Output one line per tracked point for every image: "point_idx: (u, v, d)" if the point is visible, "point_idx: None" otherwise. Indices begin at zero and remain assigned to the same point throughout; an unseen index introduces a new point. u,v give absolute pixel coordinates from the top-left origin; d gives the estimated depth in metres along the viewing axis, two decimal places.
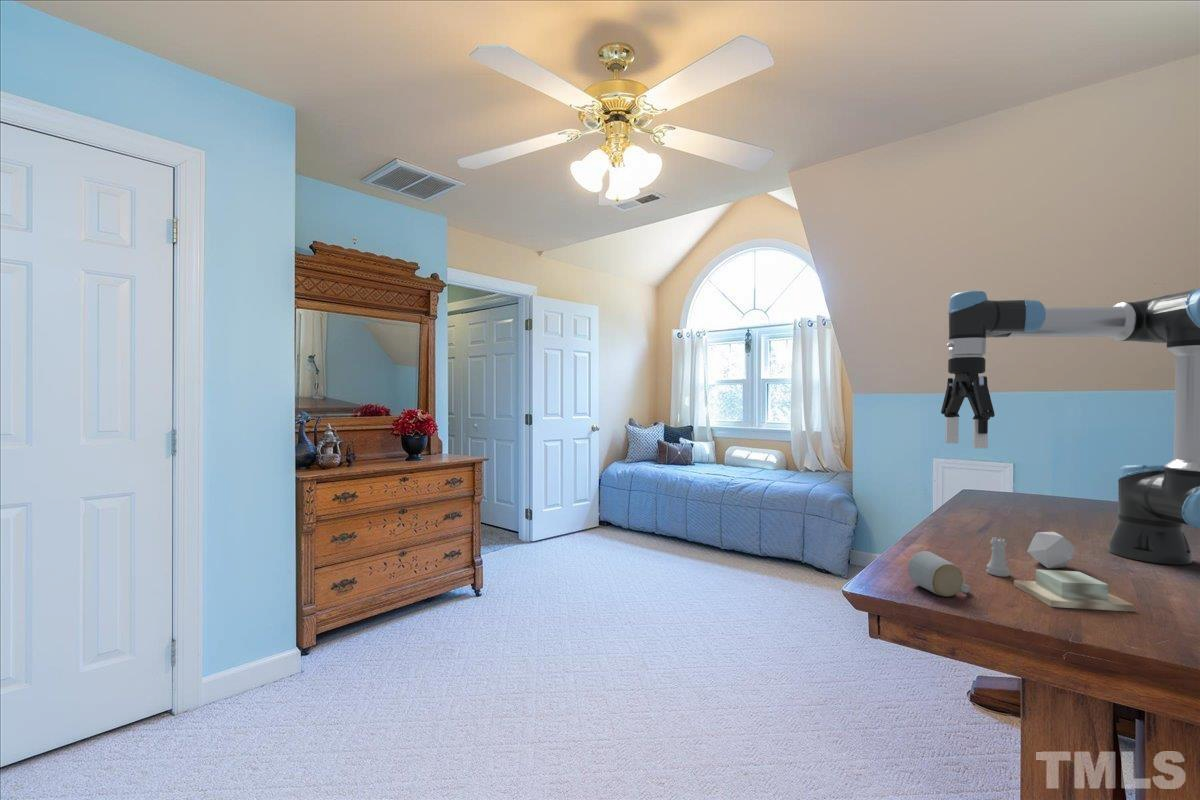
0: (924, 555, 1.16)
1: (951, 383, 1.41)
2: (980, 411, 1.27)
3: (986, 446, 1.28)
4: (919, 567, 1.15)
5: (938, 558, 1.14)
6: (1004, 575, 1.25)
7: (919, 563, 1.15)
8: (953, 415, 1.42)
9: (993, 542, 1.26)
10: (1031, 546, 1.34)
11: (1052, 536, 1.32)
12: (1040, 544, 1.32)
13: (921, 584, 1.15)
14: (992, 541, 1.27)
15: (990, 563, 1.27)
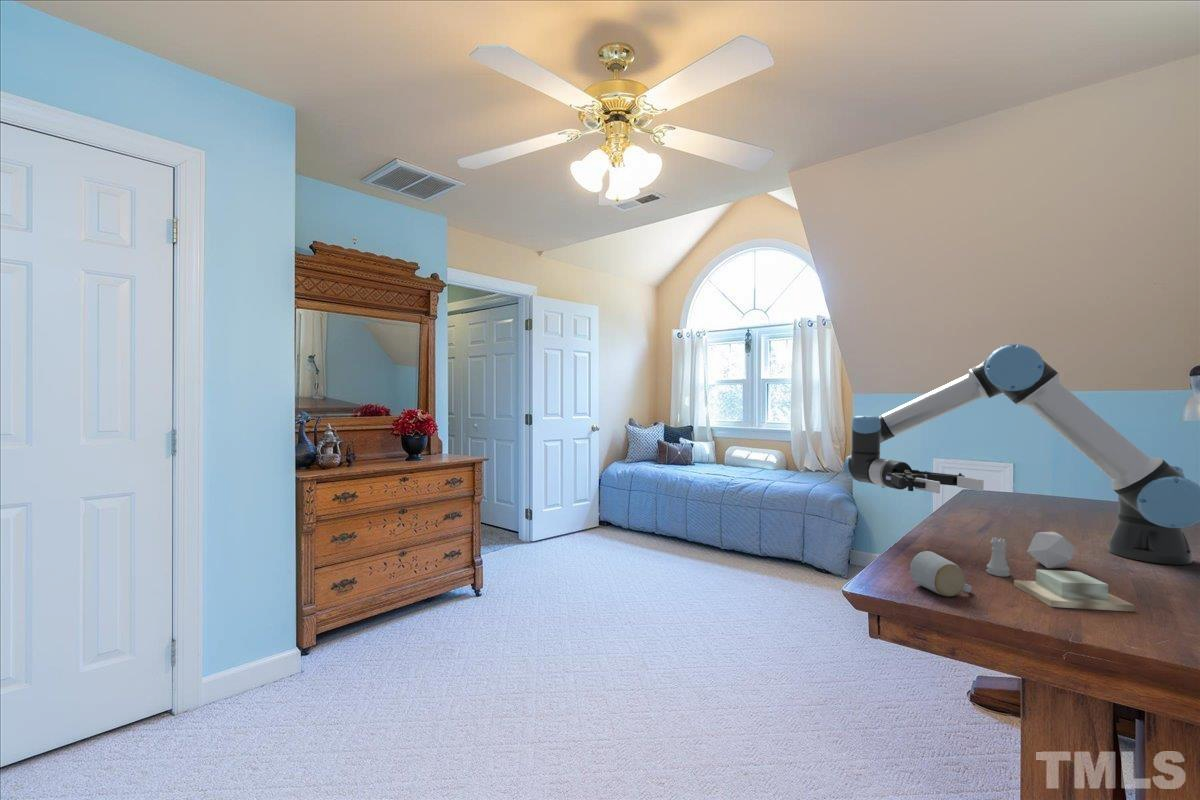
0: (926, 555, 1.16)
1: None
2: None
3: (936, 482, 1.34)
4: (921, 567, 1.15)
5: (940, 558, 1.14)
6: (1004, 575, 1.25)
7: (921, 563, 1.16)
8: None
9: (993, 542, 1.26)
10: (1031, 546, 1.34)
11: (1052, 536, 1.32)
12: (1040, 544, 1.32)
13: (923, 584, 1.15)
14: (992, 541, 1.27)
15: (990, 563, 1.27)
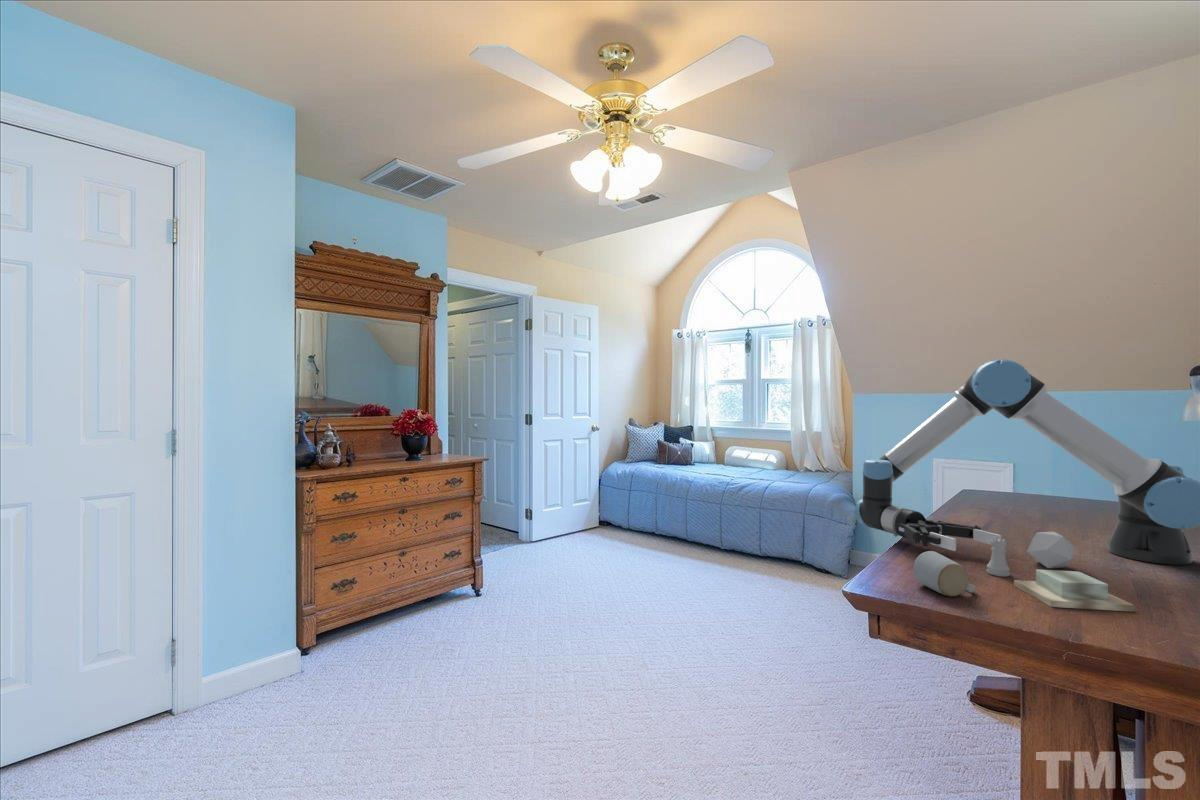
0: (929, 555, 1.16)
1: (940, 530, 1.47)
2: None
3: (951, 539, 1.29)
4: (924, 567, 1.15)
5: (943, 558, 1.14)
6: (1004, 575, 1.25)
7: (924, 563, 1.16)
8: None
9: (993, 542, 1.26)
10: (1031, 546, 1.34)
11: (1052, 536, 1.32)
12: (1040, 544, 1.32)
13: (926, 584, 1.15)
14: (992, 541, 1.27)
15: (990, 563, 1.27)
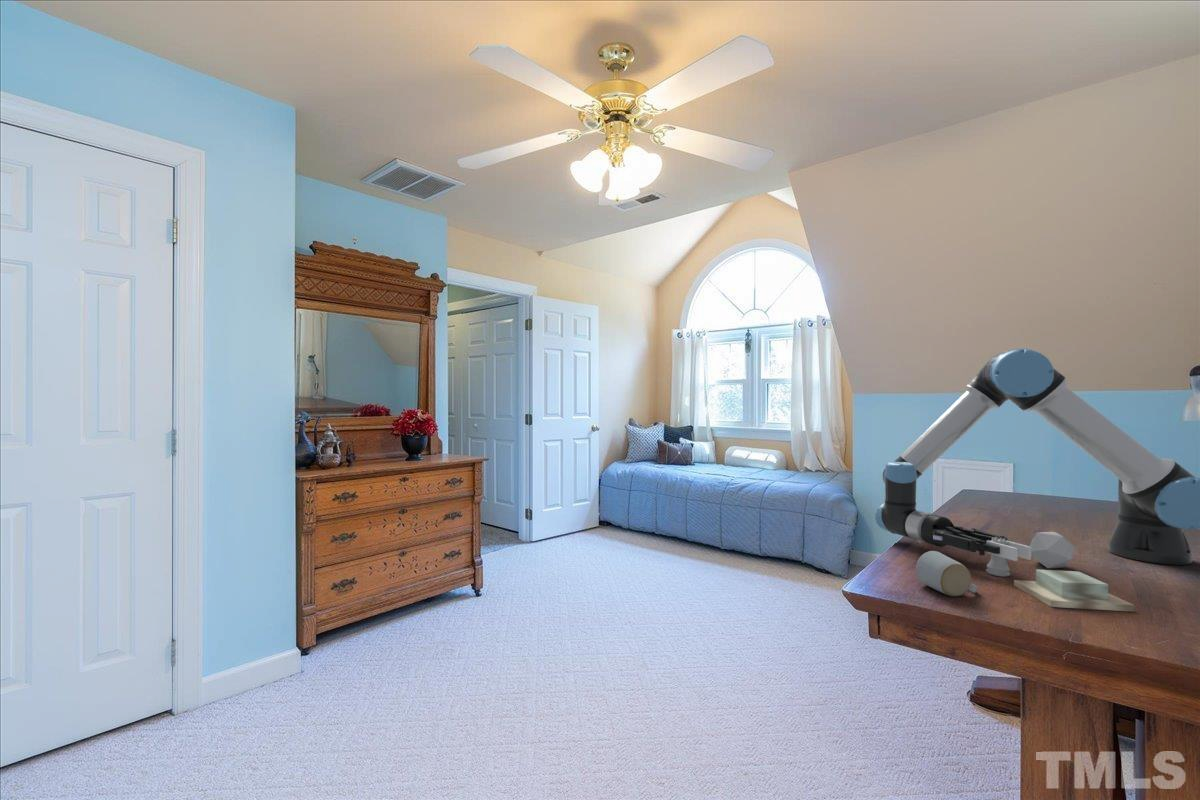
0: (932, 555, 1.16)
1: None
2: None
3: (1012, 549, 1.21)
4: (927, 566, 1.15)
5: (946, 558, 1.14)
6: (1004, 575, 1.25)
7: (927, 563, 1.16)
8: None
9: None
10: (1031, 546, 1.34)
11: (1052, 536, 1.32)
12: (1040, 544, 1.32)
13: (929, 584, 1.15)
14: (992, 541, 1.27)
15: (990, 563, 1.27)
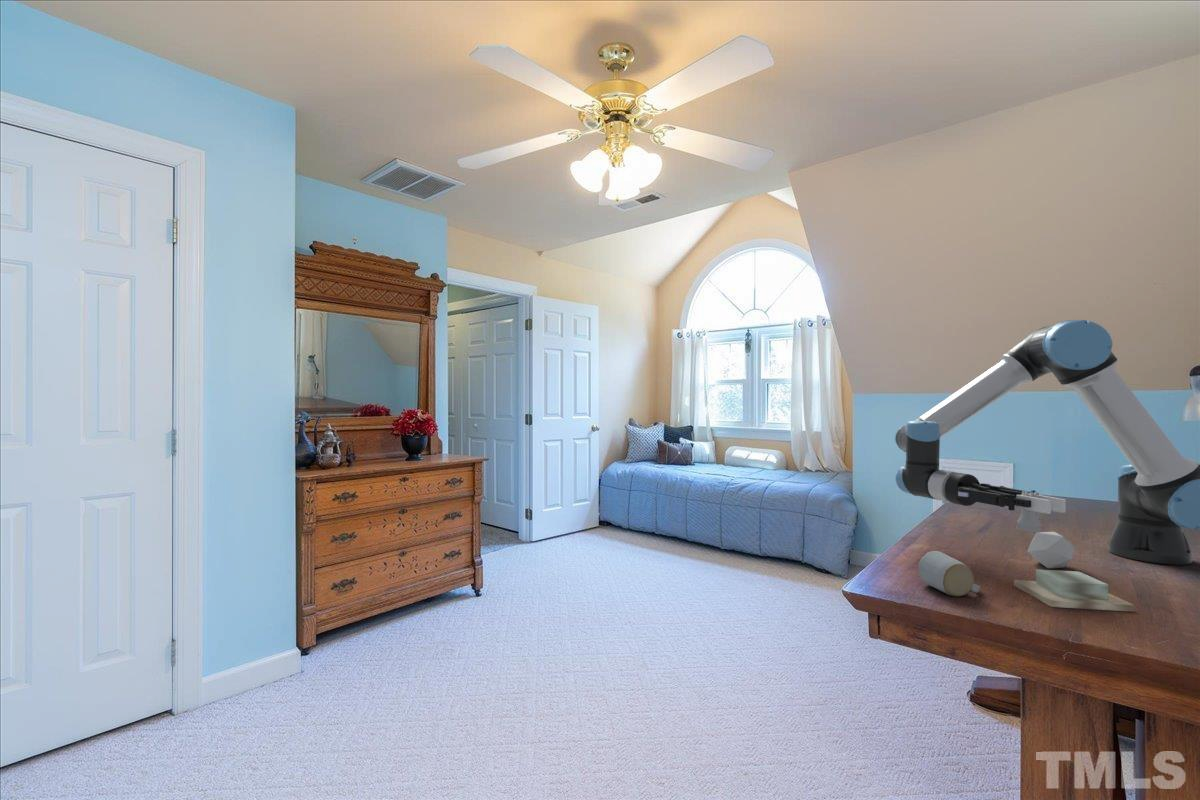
0: (935, 555, 1.16)
1: None
2: None
3: (1045, 501, 1.13)
4: (929, 566, 1.15)
5: (948, 558, 1.14)
6: (1036, 530, 1.17)
7: (929, 563, 1.16)
8: None
9: None
10: (1031, 546, 1.34)
11: (1052, 536, 1.32)
12: (1040, 544, 1.32)
13: (931, 584, 1.15)
14: None
15: (1020, 518, 1.19)
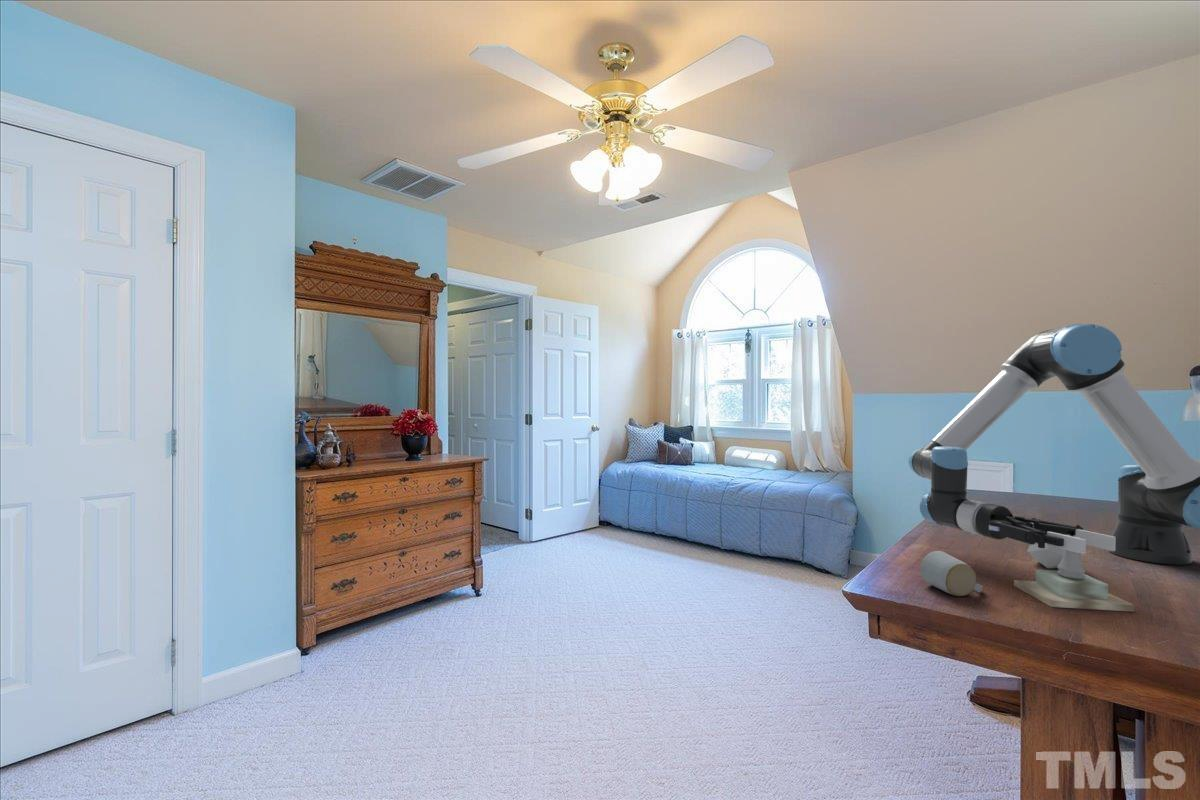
0: (937, 555, 1.16)
1: None
2: None
3: (1080, 540, 1.06)
4: (932, 566, 1.15)
5: (951, 558, 1.14)
6: (1079, 578, 1.10)
7: (932, 563, 1.16)
8: (1074, 532, 1.15)
9: None
10: (1031, 546, 1.34)
11: None
12: None
13: (934, 584, 1.15)
14: None
15: (1062, 564, 1.12)
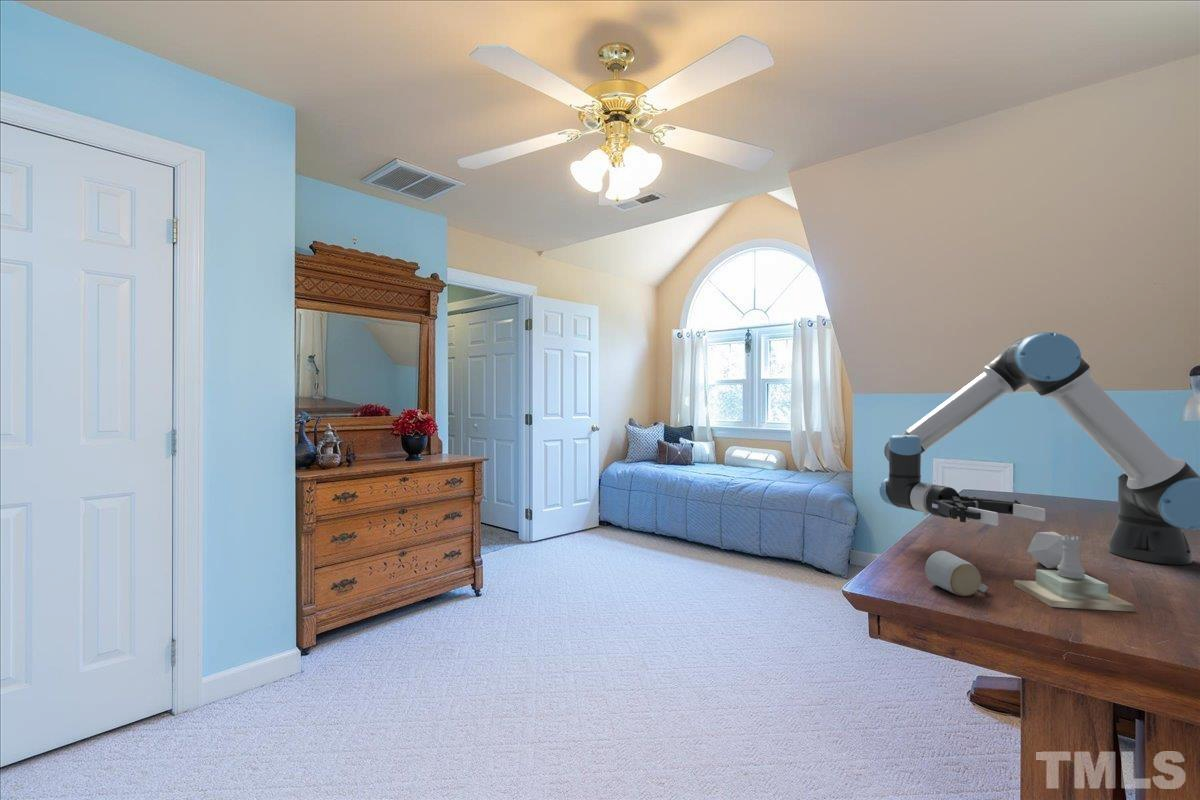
0: (941, 555, 1.17)
1: None
2: None
3: (993, 513, 1.20)
4: (936, 566, 1.15)
5: (956, 558, 1.15)
6: (1079, 578, 1.10)
7: (936, 563, 1.16)
8: None
9: (1065, 540, 1.12)
10: (1031, 546, 1.34)
11: (1052, 536, 1.32)
12: (1040, 544, 1.32)
13: (939, 584, 1.15)
14: (1064, 539, 1.12)
15: (1062, 564, 1.12)
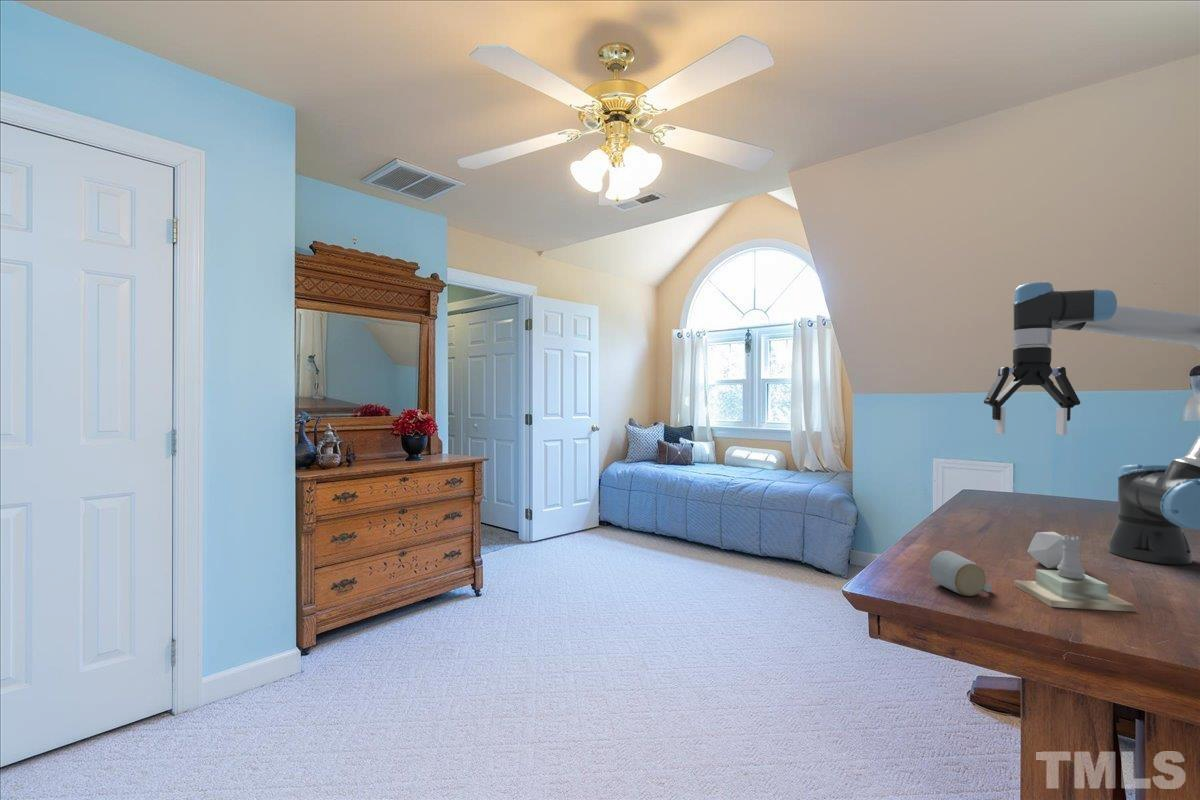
0: (946, 555, 1.17)
1: None
2: None
3: (1001, 431, 1.38)
4: (941, 566, 1.16)
5: (960, 558, 1.15)
6: (1079, 578, 1.10)
7: (941, 563, 1.16)
8: (1064, 405, 1.37)
9: (1065, 540, 1.12)
10: (1031, 546, 1.34)
11: (1052, 536, 1.32)
12: (1040, 544, 1.32)
13: (943, 584, 1.16)
14: (1064, 539, 1.12)
15: (1062, 564, 1.12)
